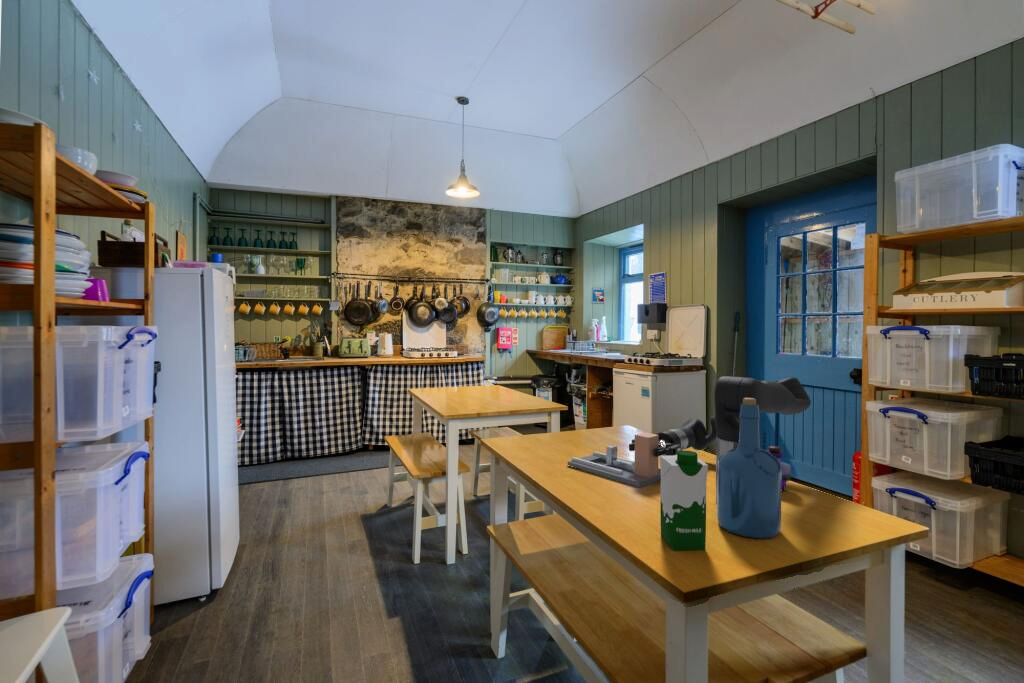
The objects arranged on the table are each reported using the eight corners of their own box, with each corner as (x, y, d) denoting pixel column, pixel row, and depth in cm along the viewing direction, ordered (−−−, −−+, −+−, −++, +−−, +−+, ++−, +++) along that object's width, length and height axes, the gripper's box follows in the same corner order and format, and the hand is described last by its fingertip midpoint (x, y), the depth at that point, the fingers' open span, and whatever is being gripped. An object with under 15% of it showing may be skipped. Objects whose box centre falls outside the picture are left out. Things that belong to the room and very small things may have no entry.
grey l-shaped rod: (613, 462, 157) (613, 444, 157) (643, 470, 149) (643, 451, 148) (605, 464, 155) (605, 447, 155) (635, 472, 146) (635, 454, 146)
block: (644, 470, 149) (644, 432, 149) (658, 474, 145) (658, 435, 145) (634, 474, 146) (634, 434, 145) (648, 477, 142) (649, 437, 141)
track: (598, 457, 170) (598, 450, 170) (669, 476, 148) (669, 468, 148) (567, 466, 159) (567, 458, 159) (639, 487, 138) (639, 478, 138)
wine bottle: (704, 523, 113) (705, 396, 112) (741, 512, 119) (743, 392, 118) (756, 546, 101) (758, 405, 100) (795, 533, 107) (797, 400, 106)
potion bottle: (798, 493, 133) (798, 450, 132) (766, 493, 133) (767, 450, 132) (781, 483, 141) (781, 443, 141) (751, 483, 141) (752, 443, 141)
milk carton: (669, 552, 98) (670, 456, 98) (655, 533, 107) (655, 445, 107) (711, 551, 99) (712, 455, 98) (693, 532, 108) (694, 444, 107)
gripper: (691, 457, 150) (662, 468, 139) (651, 449, 160) (622, 458, 150) (691, 434, 149) (662, 442, 139) (651, 426, 160) (622, 434, 150)
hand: (641, 450), depth 144 cm, fingers open, 8 cm apart
